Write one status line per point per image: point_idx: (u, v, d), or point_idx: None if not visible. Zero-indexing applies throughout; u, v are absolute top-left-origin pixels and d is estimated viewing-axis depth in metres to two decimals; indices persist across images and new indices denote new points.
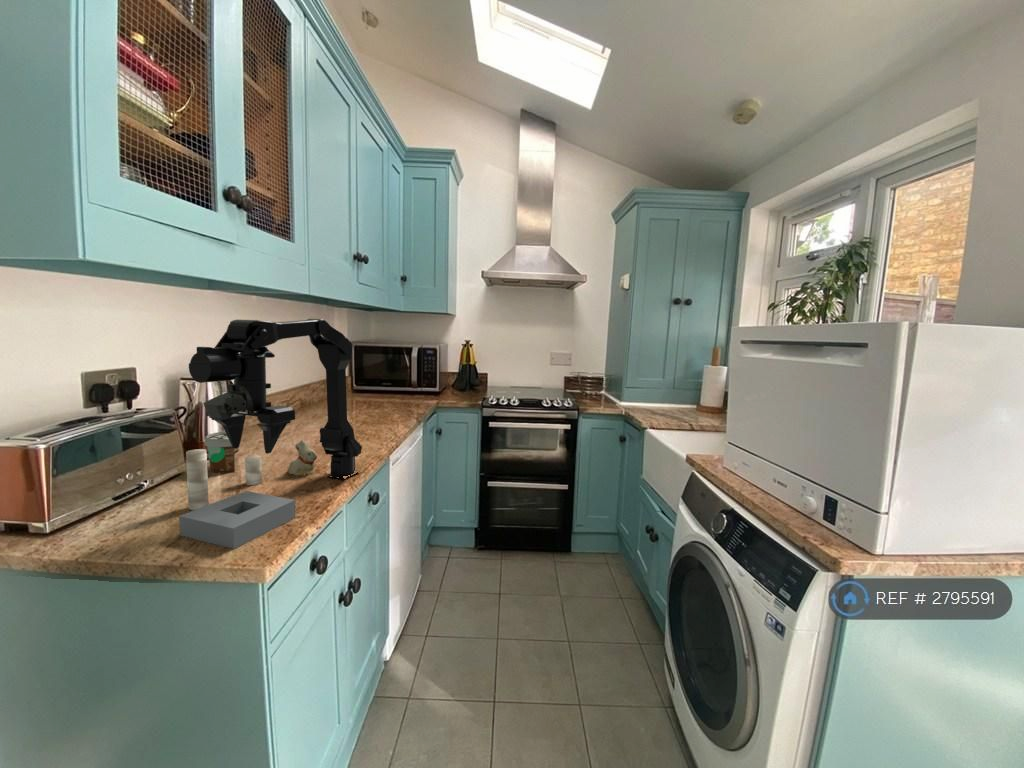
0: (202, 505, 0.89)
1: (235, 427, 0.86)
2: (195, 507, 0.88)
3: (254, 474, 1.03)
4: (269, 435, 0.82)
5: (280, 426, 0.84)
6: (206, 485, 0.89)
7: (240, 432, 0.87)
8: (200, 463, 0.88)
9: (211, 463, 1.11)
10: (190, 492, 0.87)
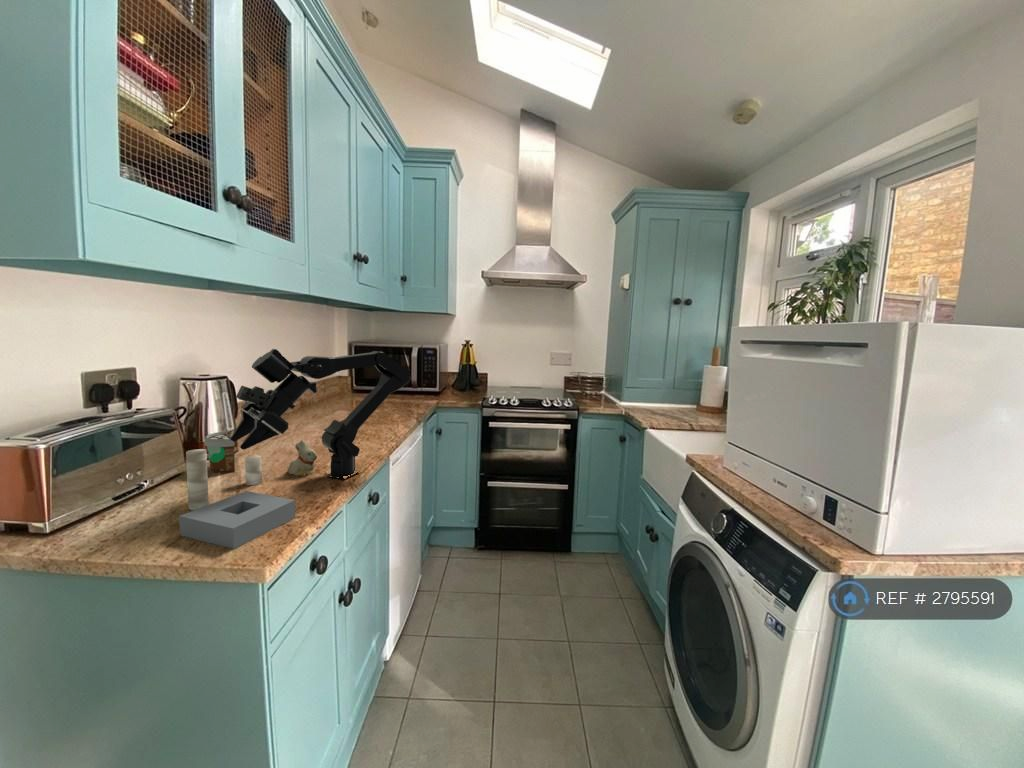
0: (202, 505, 0.89)
1: (247, 426, 0.99)
2: (195, 507, 0.88)
3: (254, 474, 1.03)
4: (254, 432, 0.91)
5: (268, 433, 0.92)
6: (206, 485, 0.89)
7: (246, 432, 0.99)
8: (200, 463, 0.88)
9: (211, 463, 1.11)
10: (190, 492, 0.87)
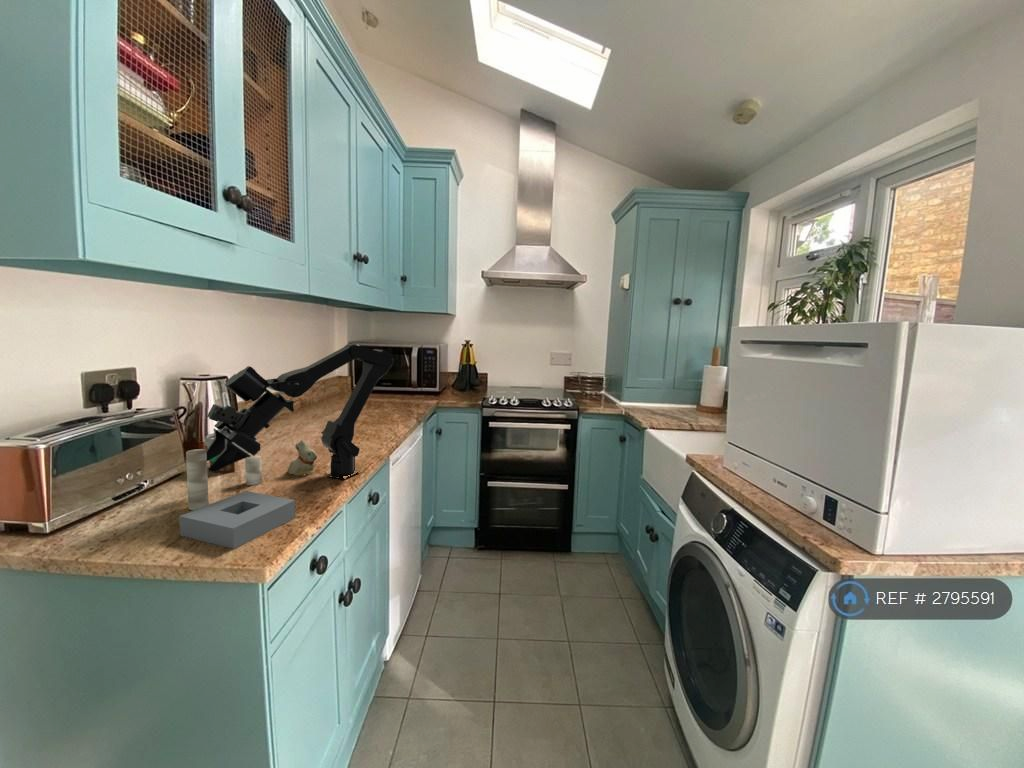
0: (202, 505, 0.89)
1: (219, 445, 0.95)
2: (195, 507, 0.88)
3: (254, 474, 1.03)
4: (224, 454, 0.87)
5: (239, 455, 0.89)
6: (206, 485, 0.89)
7: (218, 452, 0.95)
8: (200, 463, 0.88)
9: (211, 463, 1.11)
10: (190, 492, 0.87)
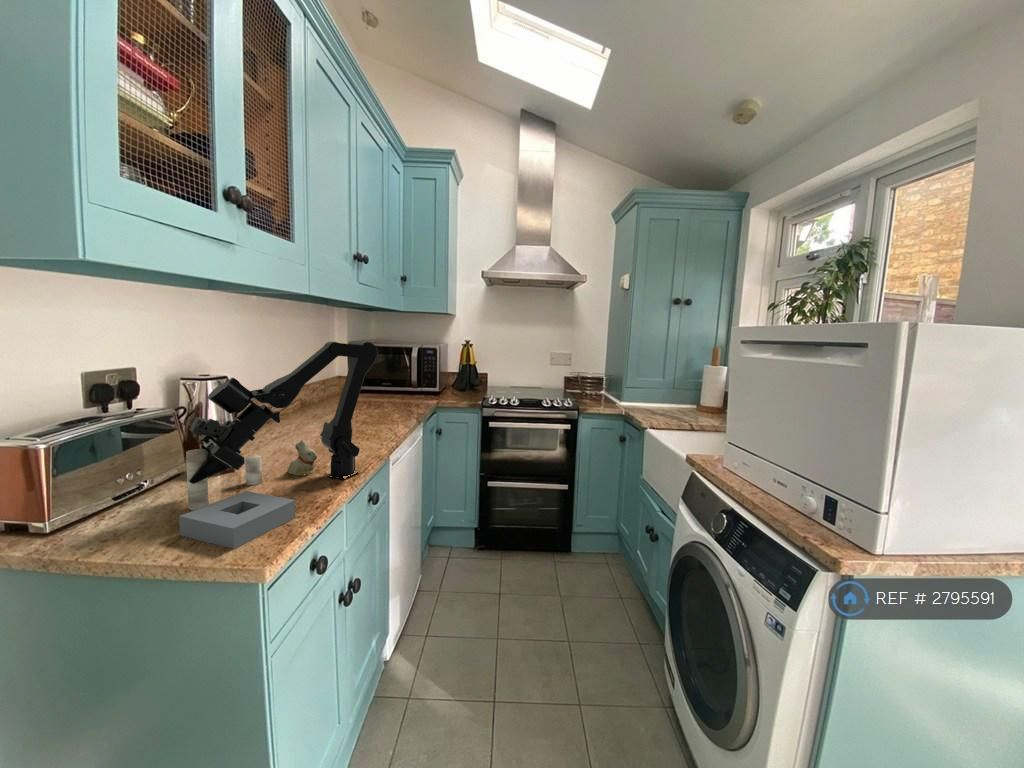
0: (202, 505, 0.89)
1: None
2: (195, 507, 0.88)
3: (254, 474, 1.03)
4: (204, 466, 0.87)
5: (220, 466, 0.89)
6: (206, 485, 0.89)
7: None
8: (200, 463, 0.88)
9: None
10: (190, 492, 0.87)
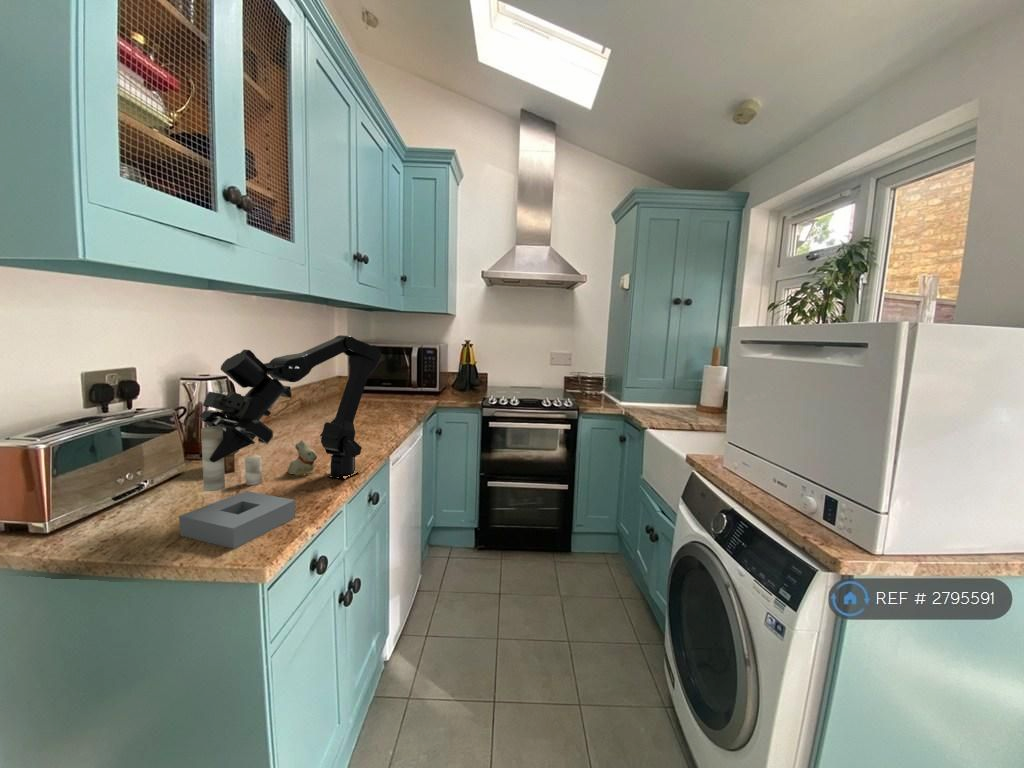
0: (221, 485, 0.83)
1: None
2: (214, 488, 0.82)
3: (254, 474, 1.03)
4: (227, 442, 0.81)
5: (242, 443, 0.84)
6: (223, 464, 0.83)
7: None
8: (219, 440, 0.82)
9: None
10: (208, 472, 0.81)
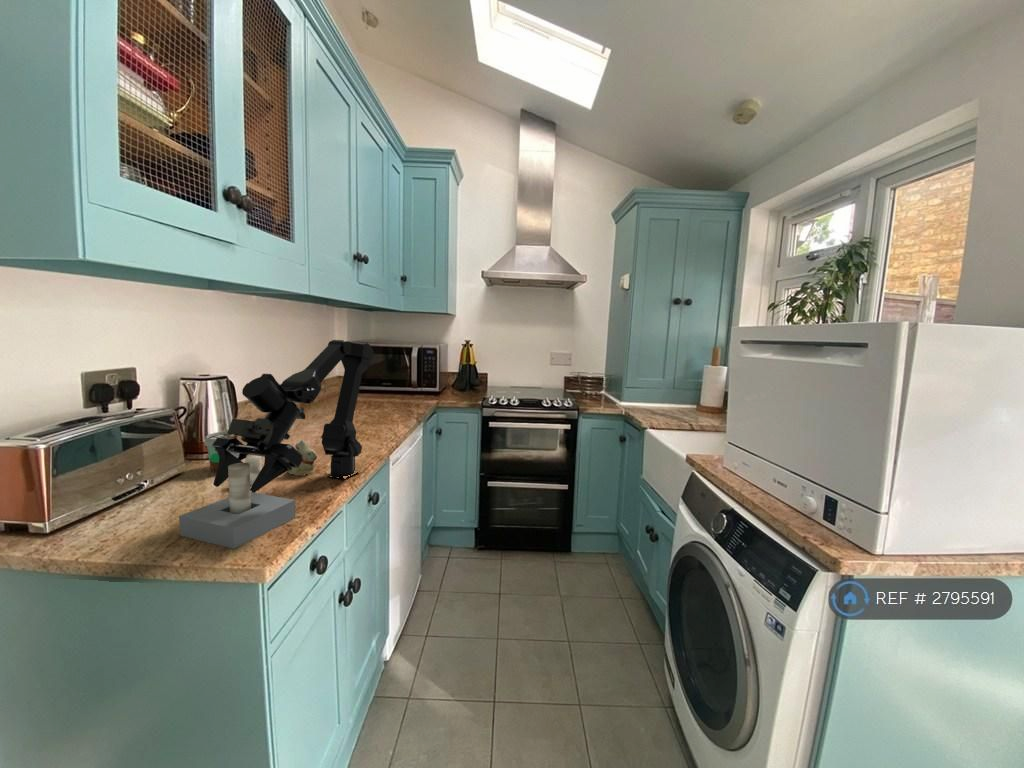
0: None
1: None
2: None
3: (254, 474, 1.03)
4: (267, 471, 0.80)
5: (279, 470, 0.82)
6: (250, 501, 0.82)
7: None
8: (248, 477, 0.80)
9: (211, 463, 1.11)
10: (237, 511, 0.79)
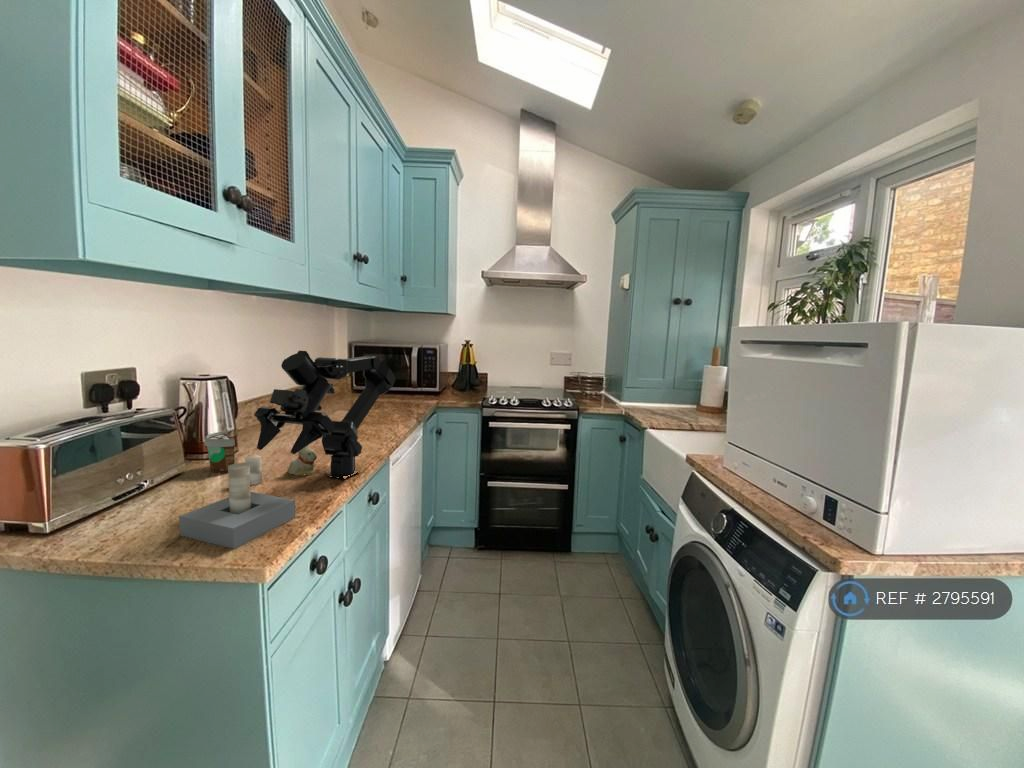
0: None
1: (269, 432, 0.93)
2: None
3: (254, 474, 1.03)
4: (305, 435, 0.90)
5: (315, 435, 0.92)
6: (250, 501, 0.82)
7: (269, 439, 0.93)
8: (248, 477, 0.80)
9: (211, 463, 1.11)
10: (237, 511, 0.79)
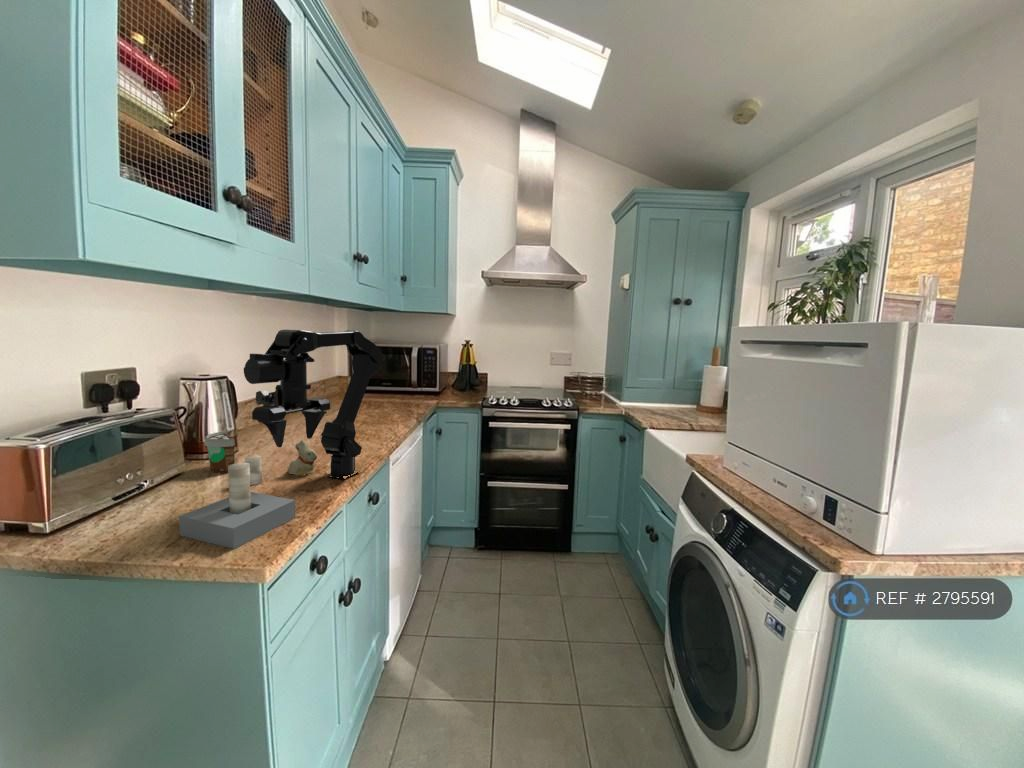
0: None
1: (310, 421, 1.02)
2: None
3: (254, 474, 1.03)
4: (270, 430, 0.92)
5: (277, 425, 0.91)
6: (250, 501, 0.82)
7: (312, 426, 1.02)
8: (248, 477, 0.80)
9: (211, 463, 1.11)
10: (237, 511, 0.79)
